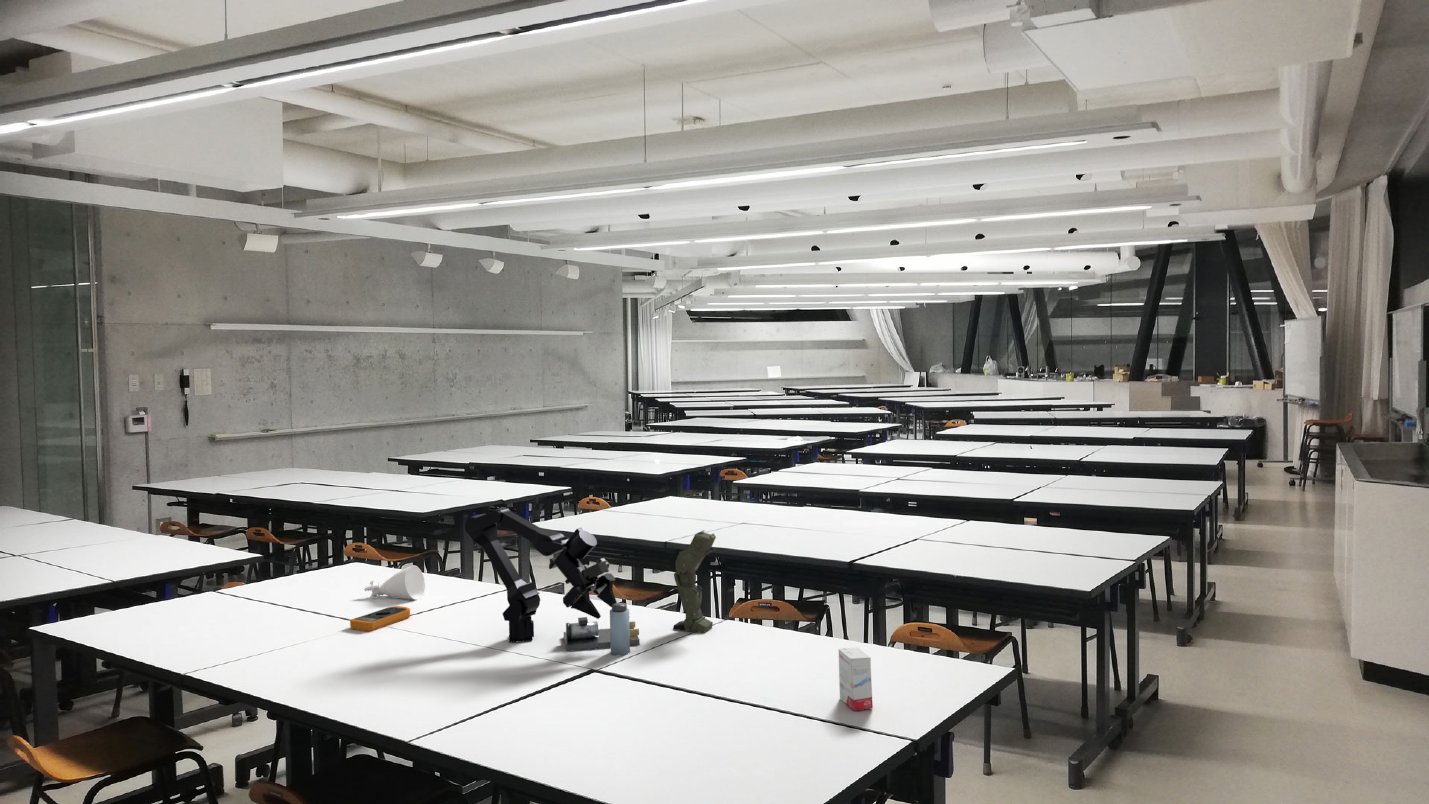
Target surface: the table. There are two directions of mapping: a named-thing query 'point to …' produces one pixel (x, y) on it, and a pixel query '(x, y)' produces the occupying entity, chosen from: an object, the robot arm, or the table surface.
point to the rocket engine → (401, 585)
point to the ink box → (855, 678)
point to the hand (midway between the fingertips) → (608, 613)
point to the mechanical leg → (692, 583)
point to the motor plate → (596, 641)
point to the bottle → (619, 629)
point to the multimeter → (380, 618)
